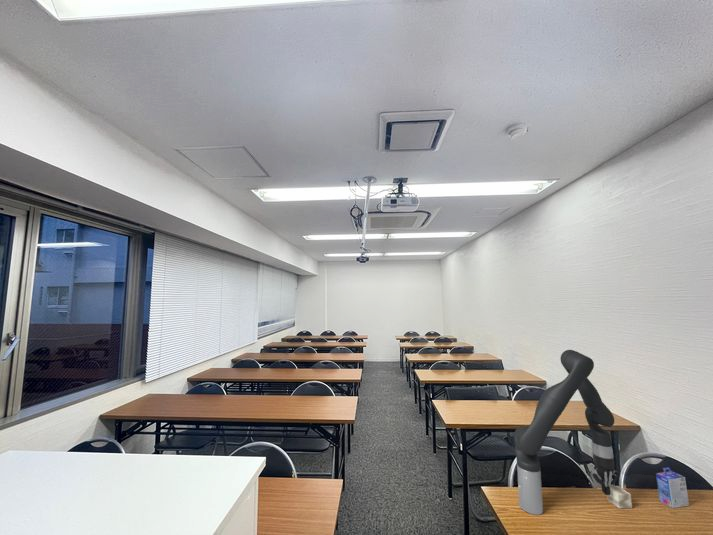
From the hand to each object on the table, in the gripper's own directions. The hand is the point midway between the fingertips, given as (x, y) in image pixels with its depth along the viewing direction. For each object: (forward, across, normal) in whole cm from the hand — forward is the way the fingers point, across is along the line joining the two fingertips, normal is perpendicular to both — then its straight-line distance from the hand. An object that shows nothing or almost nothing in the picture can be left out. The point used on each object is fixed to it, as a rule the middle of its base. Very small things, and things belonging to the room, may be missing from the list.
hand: (606, 494), depth 133 cm
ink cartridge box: (+5, +31, -1) cm, 32 cm away
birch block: (+5, +6, 0) cm, 7 cm away
